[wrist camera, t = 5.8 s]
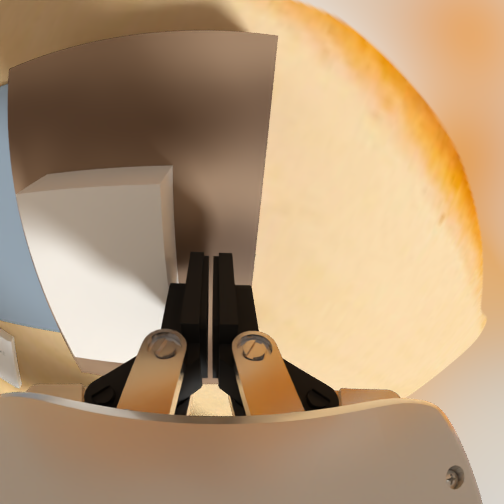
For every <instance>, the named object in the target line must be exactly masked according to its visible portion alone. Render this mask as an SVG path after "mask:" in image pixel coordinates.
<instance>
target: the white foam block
mask: <svg viewBox="0 0 504 504" xmlns="http://www.w3.org/2000/svg"><path fill="white" fill-rule="evenodd" d="M16 198H17V203H18V207H19V212H20V216H21V220H22V224H23V228H24V232H25V236H26V239H27V243H28V246H29V250H30V253H31V256H32V259H33V262H34V265H35V268H36V271H37V274H38V277H39V280H40V282H41V285H42V287H43V290H44V293H45V295H46V298H47V300H48V302H49V305H50V307H51V309H52V312H53V314H54V316H55V318H56V321H57V323H58V325H59V327H60V329H61V331H62V333H63V335H64V337H65V339H66V341H67V343H68V345H69V347H70V349H71V351H72V353H73V355H74V356H75V357H79V358H86V359H92V360H100V361H108V362H117V363H125V362H127V361H129V360H130V359H132V358H134V357H135V356H137V354H138V352H139V349H140V347H141V344H142V342H143V340H144V339H145V337H146V336H147V335H148V334H149V333H151V332H153V331H155V330H159V329H161V326H162V320H163V315H164V310H165V305H166V300H167V295H168V290H169V286H170V283H179V282H178V271H177V258H176V243H175V226H174V203H173V165H172V166H138V167H119V168H104V169H91V170H80V171H71V172H62V173H53V174H47V175H45V176H44V177H42V178H40V179H39V180H37V181H35V182H34V183H32V184H31V185H29V186H28V187H26V188H25V189H23V190H22V191H20V192H19V193H17V194H16Z"/></svg>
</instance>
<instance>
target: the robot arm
mask: <svg viewBox="0 0 504 504" xmlns="http://www.w3.org/2000/svg"><path fill="white" fill-rule="evenodd" d="M208 315H209V256H204V252H190V258H189V264H188V271H187V278H186V283H170V286H169V290H168V295H167V300H166V305H165V310H164V315H163V320H162V326H161V329H159V330H155V331H153V332H151V333H149V334H148V335H147V336H146V337H145V339H144V340H143V342H142V344H141V347H140V349H139V352H138V354H137V356H135V357H134V358H132V359H130V360H129V361H127V362H125V363H124V364H122V365H120V366H119V367H117V368H115V369H114V370H112V371H110V372H109V373H107V374H105V375H104V376H102V377H100V378H99V379H97V380H95V381H94V382H92V383H91V384H90V385H89V386H83V385H82V384H35V385H33V386H31V387H29V389H28V390H27V391H26V392H12V393H5V394H1V395H0V504H482V500H481V496H480V493H479V489H478V486H477V483H476V480H475V477H474V474H473V471H472V468H471V466H470V463H469V460H468V458H467V455H466V453H465V451H464V448H463V446H462V444H461V442H460V439H459V437H458V435H457V433H456V431H455V430H454V428H453V426H452V424H451V423H450V421H449V419H448V418H447V416H446V415H445V414H444V412H443V411H442V410H441V409H440V408H439V407H438V406H436V405H434V404H432V403H430V402H427V401H423V400H417V399H409V398H400V396H399V395H398V394H397V393H395V392H393V391H391V390H380V389H347V388H341V389H340V390H339V391H336V390H333V389H332V388H331V387H329V386H328V385H326V384H324V383H323V382H321V381H319V380H318V379H316V378H314V377H312V376H311V375H309V374H307V373H306V372H304V371H302V370H301V369H299V368H297V367H296V366H294V365H292V364H291V363H289V362H288V361H286V360H284V359H283V358H282V356H281V354H280V351H279V349H278V347H277V344H276V343H275V341H274V340H273V339H272V338H271V337H270V336H269V335H267V334H265V333H263V332H259V330H258V324H257V318H256V311H255V305H254V299H253V293H252V287H251V285H235V280H234V268H233V256H232V253H219V256H213V297H212V373H213V378H218V386H219V388H220V389H221V390H223V391H224V392H225V393H227V394H228V399H229V403H230V407H231V411H232V415H233V416H189V414H190V409H191V404H192V399H193V393H195V392H196V391H197V390H198V389H200V388H201V386H202V378H208Z"/></svg>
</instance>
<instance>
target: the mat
mask: <svg viewBox="0 0 504 504" xmlns="http://www.w3.org/2000/svg"><path fill="white" fill-rule="evenodd" d="M0 320H1V321H5V322H9V323H14V324H18V325H23V326H28V327H33V328H38V329H43V330H49V331H55V332H60V330H59V328H58V326H57V324H56V321H55V319H54V317H53V315H52V312H51V310H50V308H49V305H48V303H47V300H46V298H45V295H44V293H43V290H42V288H41V285H40V282H39V280H38V277H37V274H36V271H35V268H34V265H33V262H32V259H31V256H30V252H29V249H28V246H27V242H26V238H25V235H24V231H23V227H22V223H21V219H20V214H19V210H18V205H17V200H16V194H15V189H14V183H13V176H12V169H11V161H10V151H9V138H8V84H6V85H3V86H1V87H0Z"/></svg>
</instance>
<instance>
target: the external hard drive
mask: <svg viewBox="0 0 504 504" xmlns="http://www.w3.org/2000/svg"><path fill="white" fill-rule="evenodd" d="M0 378H2V379H3V380H5V381H6V382H8V383H10V384H11V385H13V386H15V387H16V388H20V387H21V385H22V383H21V378H20V373H19V368H18V362H17V355H16V349H15V341H14V337H13V336H12V335H10V334H9V333H7V332H6V331H4V330H3V329H1V328H0Z"/></svg>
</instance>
